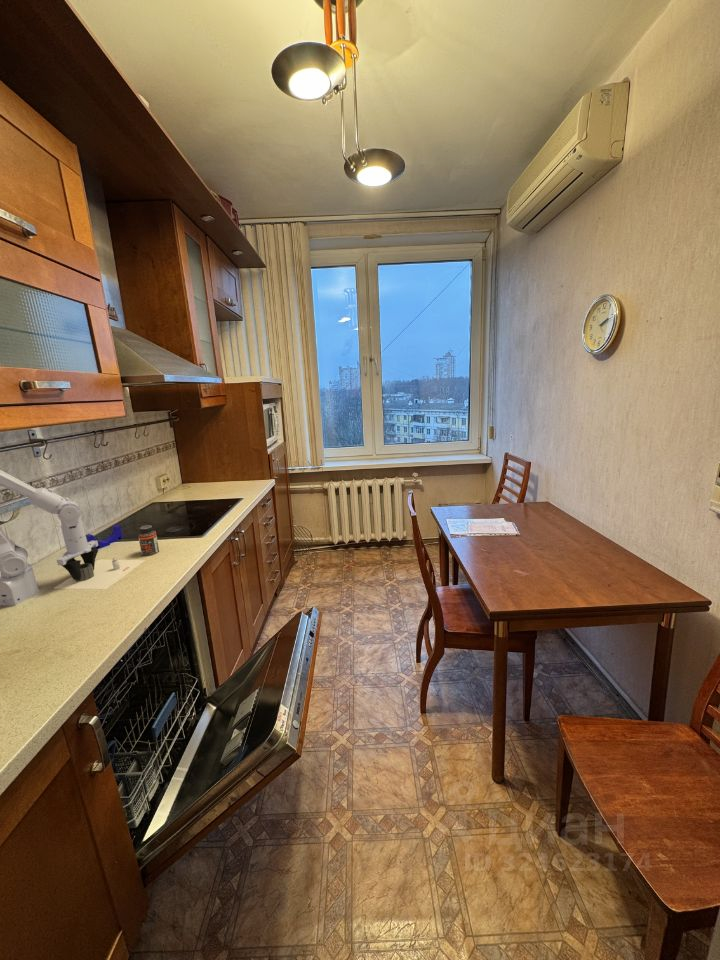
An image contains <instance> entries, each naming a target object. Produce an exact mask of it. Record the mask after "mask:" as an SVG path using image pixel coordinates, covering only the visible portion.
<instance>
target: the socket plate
mask: <svg viewBox="0 0 720 960" xmlns="http://www.w3.org/2000/svg"><path fill="white" fill-rule="evenodd" d="M145 561H146V559H118V558H117V557H114V558H112V559H98V560H96V561H95V565H94V576H93V577H92V578H90V579H88V580H85V581H75V580H74V579H73V578H72V576H71V577H69V578H67V579H66V580H64V581H62V582H61V583H59V584H58V585H56V586H54V587H53V589H56V590H57V589H58V590H60V589H63V590H64V589H66V590H107V589H109V588H110V587H111V586H113V585H114V584H116V582H118V581H119V580H121V579H122V578H124V576H126V575H127V574H129V573H130V572H131V571H133V570H134V569H136V568H137V567H139V565H141V564H142V563H144V562H145Z"/></svg>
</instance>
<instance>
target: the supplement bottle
mask: <svg viewBox="0 0 720 960" xmlns="http://www.w3.org/2000/svg"><path fill="white" fill-rule="evenodd" d="M139 530H140V531H139V533H138V542H139V547H140V553H141V556H143V557H151V556H154V555H156V554H158V553H159V552H160V549H159V544H158V543H159V541H158V536H157V532H156V530H154V529H153V526H152V525H142V526H141V527H139Z"/></svg>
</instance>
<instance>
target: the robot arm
mask: <svg viewBox="0 0 720 960" xmlns="http://www.w3.org/2000/svg"><path fill="white" fill-rule="evenodd" d="M0 486H1V487H3V488H5V489H7V490H10V491H12V492H15V493H17V494H19V495H21V496H24V497H26V498H27V499H28V502H29V504H30V505H32V506H34V507H36V508H38V509H41V510H43V511H45V512H48V513H50V514H51V515H57V518H58V519H59V520H60V523H61V524H60V528H61V529H60V530H61V533H62V537H63V540H64V541H63V542H64V545H65V549H66V551H65V552H64V553H63V554H62V555H61V556H60V557H59V558H57V559H56V563H57V565H58V566H62V567H63V569H65V570H66V572H68V573H69V574H70V576H71V577H72V578H73V579H74V580H80V579H81V573H80V564H81V560H79V559H75V558H77V557H79V556H80V557H81V559H82V560H83V564H84V563H91V564H92V567H93V571H94V565H95V562H96V557H97V555H98V553H99V549H94V547H97V546H98V542H97V541H98V540H97V541H90V542H88V543H87V539H86V535H87V533H86V531H85V528H84V522H83V521H82V517H81V514H82V511H81V509H80V506H79V505H78V503H77V502H76V501H74V500H73V499H70V498H68V497H66V496H65V497H63V496H61V495H59V494H57V493H55V492H54V490H53V488H51V487H48V488H45V487H39V488H35V487H33V486H32V485H30V484H28V483H26V482H24V481H22V480H20V479H18V478H17V477H14V476H13V475H11V474H9V473H8V472H5V471H4V470H2V469H0ZM28 555H29V553H28V551H27V550H26V548H24V547H22V546H19V545H17V544H16V542H15V541H14V540H13V539H10V538H9V537H8V535H6V533H5V532H4V531H3V530H2V529H1V528H0V606H11V607H12V606H13V607H14V606H15V607H17V605H19V604H21V603H23V602H24V601H26V600H28V599H30V598H32V597H35V596H36V595H38V593H39V591H40V589H39V587H38V583H37V579H36V575H35V571H34V568H33V565H32V564H30V563H28Z"/></svg>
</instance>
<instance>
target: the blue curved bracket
mask: <svg viewBox="0 0 720 960" xmlns="http://www.w3.org/2000/svg"><path fill="white" fill-rule="evenodd" d="M121 527H122V526H120V525H118V524H116V525H113V526H112V532H111V534H110V535H109V536H108V537H107V538H105V539H103V540H97V539H96V538H95V537H94V535H93V534H92V533H91V534H90V533H88V534H86V539H87V543H88V542H90V541H97V542H98V546H97V547H94V549H98V550H101V549H102V548H107V547H108V546H110V545H111V544H113V543H115V542H119V541H122V540H123V539H124V538H123V533H122V528H121ZM118 539H119V541H118ZM121 539H122V540H121Z"/></svg>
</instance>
